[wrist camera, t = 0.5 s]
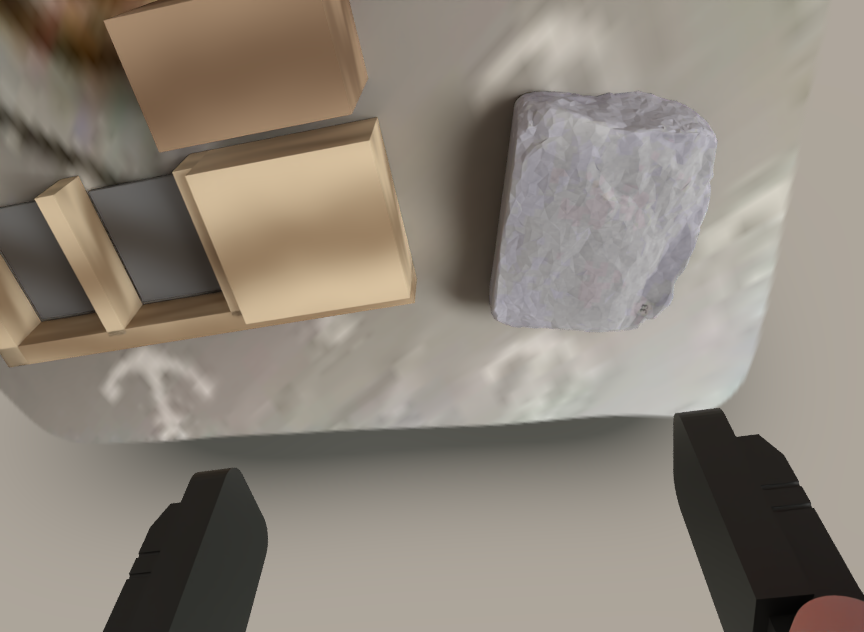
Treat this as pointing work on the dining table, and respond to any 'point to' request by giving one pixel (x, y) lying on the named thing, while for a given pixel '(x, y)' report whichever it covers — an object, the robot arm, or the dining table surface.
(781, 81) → the dining table surface
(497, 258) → the stone block
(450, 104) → the dining table surface
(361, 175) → the box
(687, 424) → the robot arm
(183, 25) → the walnut block
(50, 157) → the dining table surface
